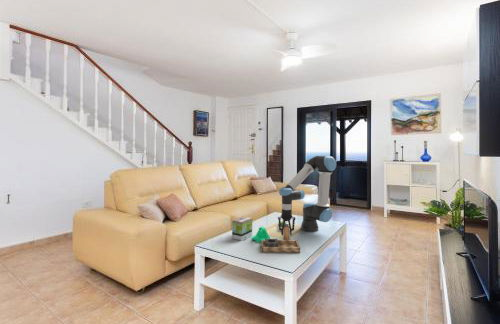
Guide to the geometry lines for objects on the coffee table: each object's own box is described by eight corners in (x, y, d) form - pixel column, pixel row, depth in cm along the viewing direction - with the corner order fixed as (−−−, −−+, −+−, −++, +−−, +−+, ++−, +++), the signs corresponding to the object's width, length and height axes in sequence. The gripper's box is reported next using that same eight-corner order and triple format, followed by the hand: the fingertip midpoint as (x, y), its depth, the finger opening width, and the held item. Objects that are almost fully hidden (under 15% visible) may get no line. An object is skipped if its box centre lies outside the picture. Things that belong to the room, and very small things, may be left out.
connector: (288, 241, 199) (288, 223, 198) (289, 243, 195) (289, 225, 194) (283, 241, 199) (283, 223, 198) (283, 243, 195) (284, 225, 194)
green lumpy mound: (251, 240, 201) (251, 227, 200) (256, 237, 207) (256, 225, 206) (264, 243, 194) (264, 230, 193) (269, 241, 200) (269, 227, 199)
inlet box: (296, 245, 191) (296, 237, 191) (300, 252, 177) (300, 244, 177) (261, 244, 191) (261, 237, 191) (261, 252, 177) (261, 244, 177)
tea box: (242, 241, 199) (242, 222, 198) (231, 238, 204) (231, 220, 203) (252, 235, 211) (252, 217, 211) (242, 233, 217) (242, 215, 216)
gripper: (297, 207, 199) (296, 237, 200) (275, 207, 199) (274, 237, 201) (298, 210, 192) (298, 241, 193) (275, 209, 192) (275, 241, 193)
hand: (286, 239), depth 197 cm, fingers closed on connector, 4 cm apart
